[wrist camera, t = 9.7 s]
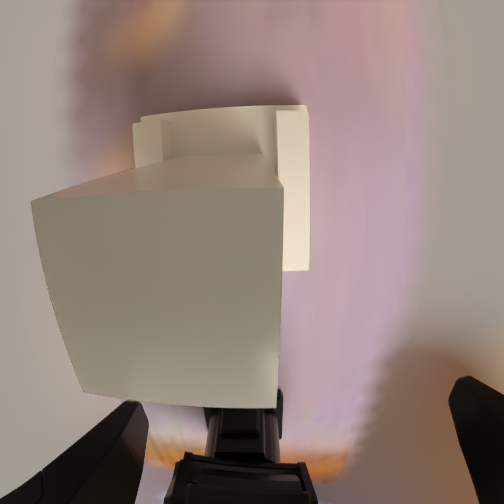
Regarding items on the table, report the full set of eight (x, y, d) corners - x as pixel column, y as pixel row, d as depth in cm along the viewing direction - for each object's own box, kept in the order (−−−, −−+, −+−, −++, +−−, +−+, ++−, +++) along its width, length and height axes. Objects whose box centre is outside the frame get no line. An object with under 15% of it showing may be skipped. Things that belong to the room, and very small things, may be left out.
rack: (303, 255, 20) (313, 278, 17) (162, 260, 20) (146, 283, 17) (302, 108, 17) (312, 101, 14) (149, 118, 17) (127, 114, 14)
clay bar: (262, 225, 18) (275, 408, 5) (191, 226, 18) (83, 391, 6) (262, 153, 16) (283, 187, 4) (187, 154, 16) (30, 201, 4)
